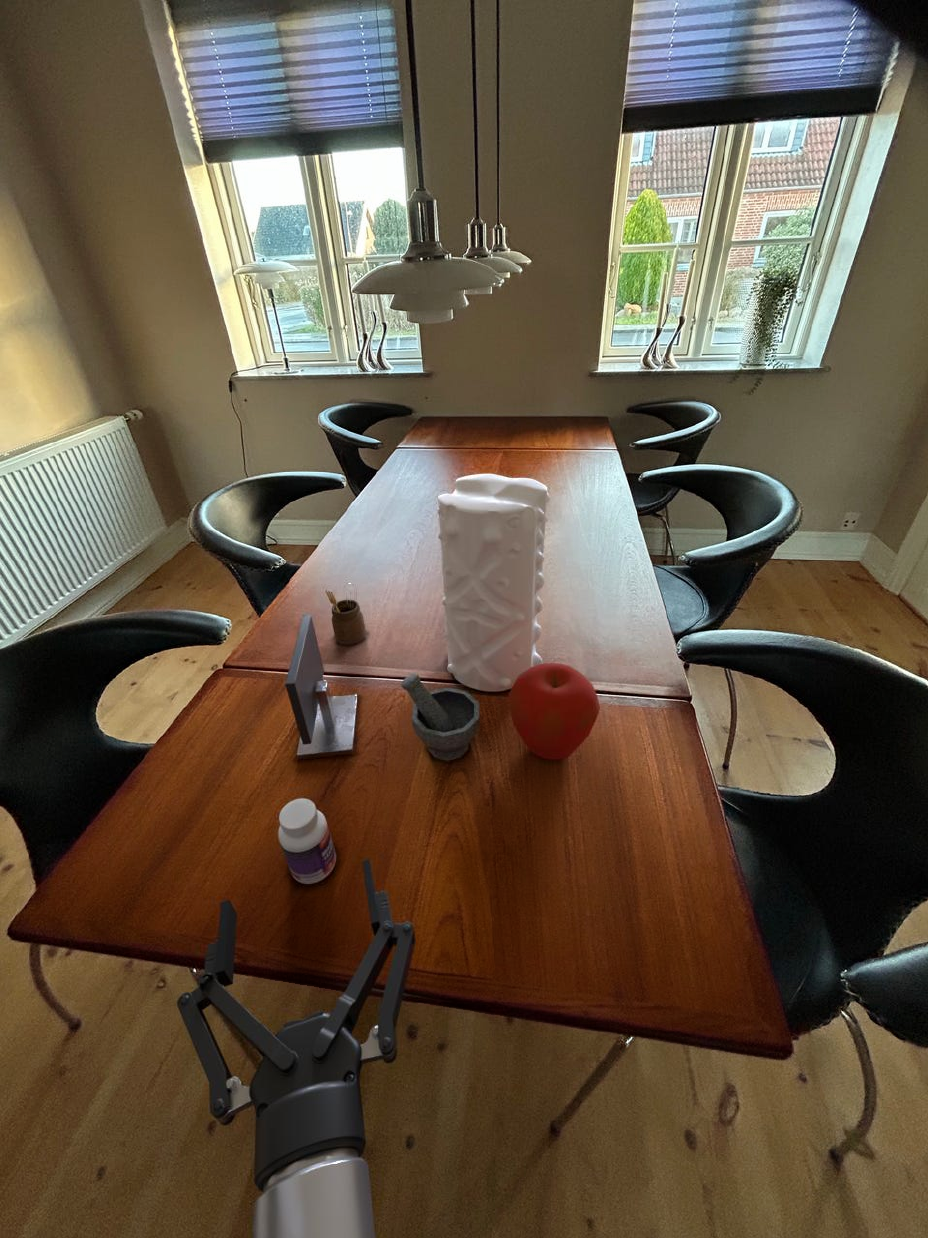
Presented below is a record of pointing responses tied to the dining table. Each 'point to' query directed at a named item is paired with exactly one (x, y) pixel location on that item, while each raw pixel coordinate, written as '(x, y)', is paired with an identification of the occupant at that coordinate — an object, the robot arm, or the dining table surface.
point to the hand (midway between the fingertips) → (300, 886)
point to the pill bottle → (306, 841)
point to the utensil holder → (347, 620)
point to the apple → (553, 709)
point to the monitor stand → (331, 725)
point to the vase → (492, 577)
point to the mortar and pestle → (443, 718)
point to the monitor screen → (305, 679)
